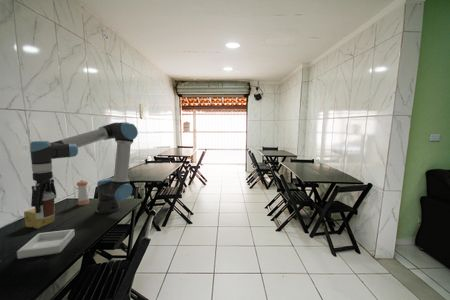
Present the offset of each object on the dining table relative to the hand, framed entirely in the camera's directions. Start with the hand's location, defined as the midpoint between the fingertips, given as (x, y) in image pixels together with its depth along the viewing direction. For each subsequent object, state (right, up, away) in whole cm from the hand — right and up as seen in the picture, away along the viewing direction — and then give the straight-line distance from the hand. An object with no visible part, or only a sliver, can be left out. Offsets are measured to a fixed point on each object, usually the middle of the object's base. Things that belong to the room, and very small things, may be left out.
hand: (46, 214), depth 104 cm
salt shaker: (-20, -10, +56) cm, 60 cm away
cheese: (-24, -14, +23) cm, 36 cm away
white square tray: (+2, -16, 0) cm, 16 cm away
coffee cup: (0, -1, 0) cm, 1 cm away
